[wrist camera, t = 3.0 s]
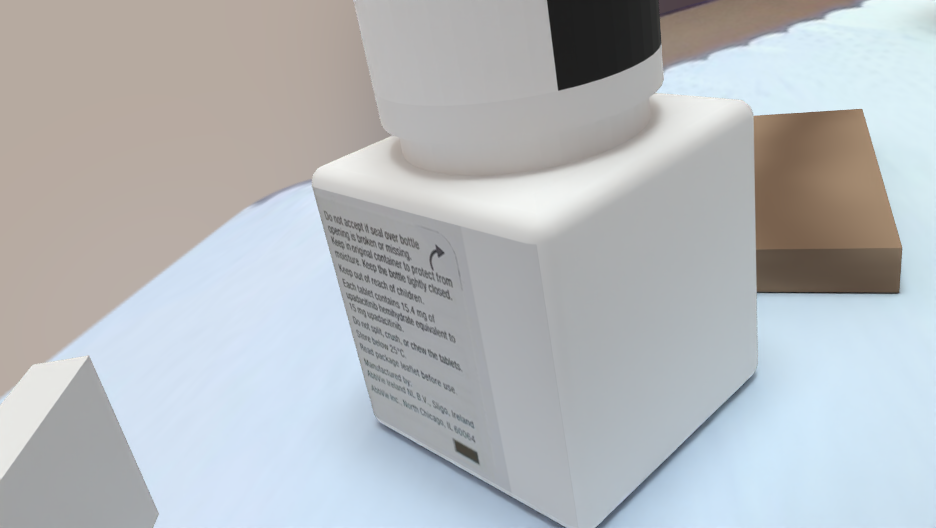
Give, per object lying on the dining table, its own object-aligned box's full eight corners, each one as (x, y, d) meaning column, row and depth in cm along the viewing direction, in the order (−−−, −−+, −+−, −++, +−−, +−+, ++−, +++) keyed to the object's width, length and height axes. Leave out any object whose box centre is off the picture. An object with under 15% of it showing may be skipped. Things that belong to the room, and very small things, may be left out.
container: (548, 302, 28) (487, -116, 22) (763, 372, 22) (755, -157, 17) (371, 424, 23) (237, -60, 18) (586, 547, 18) (493, -92, 12)
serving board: (860, 142, 35) (862, 108, 35) (899, 292, 25) (902, 247, 24) (468, 162, 42) (463, 134, 41) (363, 289, 31) (353, 253, 30)
